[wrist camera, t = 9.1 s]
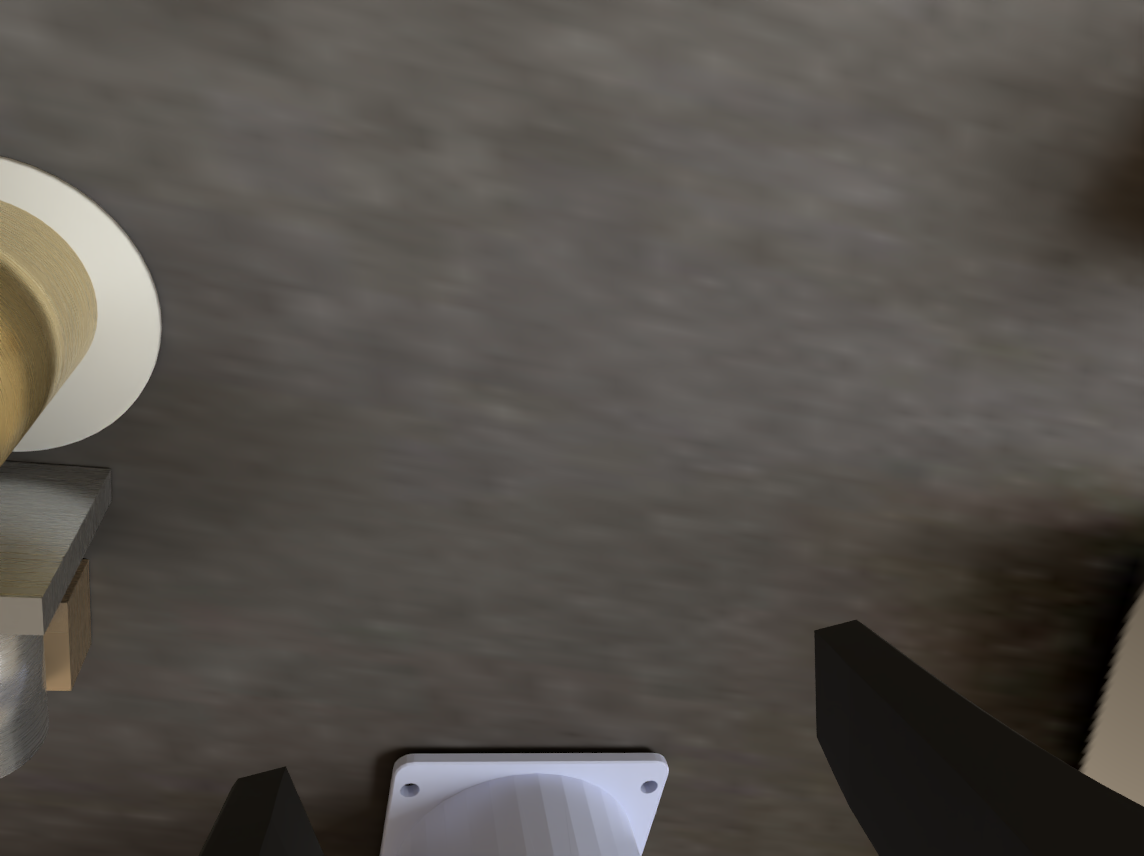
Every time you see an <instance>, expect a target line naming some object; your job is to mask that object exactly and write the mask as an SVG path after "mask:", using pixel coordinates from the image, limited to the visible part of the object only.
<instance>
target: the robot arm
mask: <svg viewBox="0 0 1144 856" xmlns="http://www.w3.org/2000/svg"><path fill="white" fill-rule="evenodd" d="M814 632H815V678H816V724H817V738H818V740H819V743H820V745H821V747H822V749H823V751H824V754H825V756H826V758H827V760H828V762H829V765H830V767H831V769H832V771H833V773H834V776H835V778H836V780H837V782H838V784H839V786H840V788H841V790H842V792H843V794H844V796H845V798H846V800H847V803H848V805H849V807H850V808H851V810H852V812H853V813H854V815H855V817H856V818H857V820H858V822H859V823H860V825H861V827H862V828H863V830H864V832H865V833H866V835H867V836H868V838H869V840H870V841H871V843H872V845H873V846H874V848H875V850H876V851H877V853H878V854H879V856H1144V807H1143V806H1141V805H1139V804H1137V803H1136V802H1134V801H1132V800H1130V799H1128V798H1126V797H1124V796H1122V795H1121V794H1119V793H1117V792H1115V791H1113V790H1111V789H1109V788H1107V787H1106V786H1104V785H1102V784H1100V783H1098V782H1097V781H1095V780H1093V779H1091V778H1090V777H1088V776H1086V775H1085V774H1083V773H1081V772H1080V771H1078V770H1076V769H1074V768H1073V767H1071V766H1069V765H1068V764H1066V763H1065V762H1063V761H1061V760H1060V759H1058V758H1056V757H1055V756H1053V755H1051V754H1050V753H1048V752H1047V751H1045V750H1043V749H1042V748H1040V747H1038V746H1037V745H1035V744H1034V743H1032V742H1030V741H1029V740H1027V739H1026V738H1024V737H1023V736H1021V735H1020V734H1018V733H1016V732H1015V731H1013V730H1012V729H1010V728H1009V727H1007V726H1006V725H1004V724H1003V723H1001V722H1000V721H998V720H997V719H995V718H994V717H992V716H991V715H989V714H988V713H986V712H985V711H984V710H982V709H981V708H979V707H978V706H976V705H975V704H973V703H972V702H970V701H969V700H967V699H966V698H964V697H963V696H961V695H960V694H959V693H957V692H956V691H954V690H953V689H951V688H950V687H949V686H947V685H946V684H944V683H943V682H942V681H940V680H939V679H937V678H936V677H935V676H933V675H932V674H930V673H929V672H928V671H926V670H925V669H924V668H922V667H921V666H919V665H918V664H917V663H915V662H914V661H913V660H911V659H910V658H908V657H907V656H906V655H904V654H903V653H902V652H900V651H899V650H898V649H896V648H895V647H893V646H892V645H891V644H889V643H888V642H887V641H885V640H884V639H883V638H881V637H880V636H879V635H877V634H876V633H875V632H873V631H872V630H870V629H869V628H868V627H866V626H865V625H863V624H862V623H860V622H859V621H857V620H853V621H850V622H846V623H842V624H838V625H834V626H830V627H826V628H822V629H818V630H815V631H814ZM668 772H669V768H668V765H667V762H666V760H665V758H664V756H662V755H660V754H657V753H447V754H407V755H405V756H403V757H400V758H399V759H398V760H397V761H396V762H395V764H394V767H393V772H392V778H391V785H390V791H389V798H388V804H387V811H386V817H385V824H384V830H383V837H382V843H381V850H380V856H642V853H643V850H644V846H645V843H646V840H647V837H648V834H649V831H650V828H651V825H652V822H653V819H654V816H655V813H656V810H657V807H658V804H659V801H660V798H661V794H662V791H663V788H664V785H665V782H666V779H667V776H668ZM646 781H649V782H646ZM645 782H646V783H645ZM410 783H413V784H414V785H410V786H406V785H405V784H410ZM199 856H324V854H323V852H322V849H321V847H320V845H319V842H318V840H317V838H316V835H315V833H314V831H313V828H312V826H311V824H310V821H309V819H308V817H307V814H306V812H305V810H304V807H303V805H302V803H301V800H300V798H299V796H298V794H297V791H296V789H295V787H294V784H293V782H292V780H291V777H290V775H289V773H288V770H287V768H286V767H282V768H278V769H274V770H270V771H266V772H262V773H259V774H255V775H251V776H247V777H243V778H239V779H238V780H237V781H236V783H235V784H234V785H233V787H232V789H231V791H230V793H229V795H228V797H227V799H226V801H225V803H224V805H223V807H222V809H221V811H220V813H219V815H218V817H217V819H216V821H215V824H214V826H213V828H212V830H211V832H210V834H209V836H208V838H207V840H206V842H205V844H204V846H203V848H202V850H201V852H200V854H199Z"/></svg>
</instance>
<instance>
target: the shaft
mask: <svg viewBox="0 0 1144 856" xmlns="http://www.w3.org/2000/svg"><path fill="white" fill-rule="evenodd" d="M111 501H112V491H111V469H106V468H92V467H78V466H65V465H51V464H37V463H24V462H10V461H4V463H3V464H2V465H1V467H0V778H2V777H4V776H6V775H8V774H10V773H11V772H13V771H15V770H16V769H18V768H19V767H21V766H22V765H23V764H25V763H26V762H27V761H28V760H29V759H30V758H32V757H33V755H34V754H35V753H36V752H37V751H38V750H39V748H40V747H41V746H42V744H43V742H44V740H45V738H46V736H47V733H48V727H49V720H48V703H47V690H51V691H71V690H72V688H73V685H74V683H75V681H76V678H77V676H78V674H79V671H80V669H81V667H82V664H83V662H84V659H85V657H86V655H87V652H88V650H89V648H90V645H91V619H90V587H89V560H87V559H83V557H84V555H85V553H86V551H87V549H88V547H89V545H90V543H91V541H92V539H93V537H94V535H95V533H96V531H97V529H98V527H99V525H100V523H101V521H102V519H103V517H104V515H105V513H106V511H107V509H108V507H109V505H110V503H111Z"/></svg>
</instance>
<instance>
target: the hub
mask: <svg viewBox="0 0 1144 856" xmlns="http://www.w3.org/2000/svg"><path fill="white" fill-rule="evenodd" d="M97 317H98V312H97V301H96V296H95V291H94V288H93V285H92V282H91V279H90V277H89V275H88V273H87V271H86V269H85V267H84V265H83V263H82V262H81V260H80V259H79V257H78V256H77V254H76V253H75V251H74V250H73V249H72V248H71V247H70V246H69V244H68V243H67V242H66V241H65V240H64V239H63V238H62V237H61V236H60V235H59V234H58V233H57V232H56V231H54V230H53V229H52V228H51V227H49V226H48V225H47V224H45V223H44V222H43V221H41V220H40V219H38V218H37V217H35V216H33V215H32V214H30V213H28V212H27V211H25V210H23V209H20V208H18V207H16V206H14V205H12V204H9V203H6V202H3V201H1V200H0V467H1V465H2V464H3V463H4V461H5V460H6V459H7V458H8V456H9V455H10V454H11V452H12V451H13V450H14V448H15V447H16V446H17V444H18V443H19V442H20V441H21V439H22V438H23V437H24V435H25V434H26V433H27V431H28V430H29V429H30V427H31V426H32V425H33V424H34V422H35V421H36V420H37V418H38V417H39V416H40V414H41V413H42V412H43V410H44V409H45V408H46V407H47V405H48V404H49V403H50V401H51V400H52V399H53V397H54V396H55V395H56V394H57V392H58V391H59V390H60V388H61V387H62V386H63V384H64V383H65V382H66V380H67V379H68V378H69V377H70V375H71V374H72V373H73V371H74V370H75V369H76V367H77V366H78V365H79V363H80V362H81V361H82V359H83V358H84V356H85V355H86V353H87V352H88V350H89V348H90V346H91V344H92V341H93V339H94V335H95V331H96V328H97Z"/></svg>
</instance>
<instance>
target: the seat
mask: <svg viewBox="0 0 1144 856" xmlns="http://www.w3.org/2000/svg"><path fill="white" fill-rule="evenodd" d="M0 200H1V201H3V202H6V203H9V204H12V205H14V206H16V207H18V208H20V209H23V210H25V211H27V212H28V213H30V214H32V215H33V216H35V217H37V218H38V219H40V220H41V221H43V222H44V223H45V224H47V225H48V226H49V227H51V228H52V229H53V230H54V231H56V232H57V233H58V234H59V235H60V236H61V237H62V238H63V239H64V240H65V241H66V242H67V243H68V244H69V246H70V247H71V248H72V249H73V250H74V251H75V253H76V254H77V256H78V257H79V259H80V260H81V262H82V263H83V265H84V267H85V269H86V271H87V273H88V275H89V277H90V279H91V282H92V285H93V288H94V291H95V296H96V301H97V312H98V317H97V328H96V331H95V335H94V339H93V341H92V344H91V346H90V348H89V350H88V352H87V353H86V355H85V356H84V358H83V359H82V361H81V362H80V363H79V365H78V366H77V367H76V369H75V370H74V371H73V373H72V374H71V375H70V377H69V378H68V379H67V380H66V382H65V383H64V384H63V386H62V387H61V388H60V390H59V391H58V392H57V394H56V395H55V396H54V397H53V399H52V400H51V401H50V403H49V404H48V405H47V407H46V408H45V409H44V410H43V412H42V413H41V414H40V416H39V417H38V418H37V420H36V421H35V422H34V424H33V425H32V426H31V427H30V429H29V430H28V431H27V433H26V434H25V435H24V437H23V438H22V439H21V441H20V442H19V443H18V444H17V446H16V447H15V448H14V450H13V451H12V452H25V451H38V450H46V449H51V448H56V447H61V446H65V445H68V444H71V443H74V442H77V441H80V440H83V439H85V438H87V437H89V436H91V435H93V434H95V433H98V432H99V431H101V430H102V429H104V428H105V427H107V426H109V425H110V424H112V423H113V422H114V421H115V420H117V419H118V418H119V417H120V416H121V415H122V414H124V413H125V412H126V411H127V410H128V409H129V407H130V406H131V405H132V404H133V403H134V402H135V400H136V399H137V398H138V397H139V395H140V393H141V392H142V390H143V389H144V387H145V385H146V384H147V382H148V380H149V378H150V376H151V374H152V371H153V369H154V367H155V364H156V362H157V358H158V354H159V350H160V346H161V334H162V319H161V308H160V303H159V298H158V294H157V290H156V287H155V284H154V281H153V279H152V276H151V273H150V271H149V269H148V267H147V265H146V263H145V261H144V259H143V257H142V255H141V253H140V252H139V251H138V249H137V248H136V246H135V245H134V243H133V242H132V240H131V239H130V237H129V236H128V235H127V234H126V232H125V231H124V230H123V229H122V228H121V227H120V225H119V224H118V223H117V222H116V221H115V220H114V219H113V218H112V217H111V216H110V215H109V214H108V213H107V212H106V211H105V210H104V209H103V208H101V207H100V206H99V205H98V204H97V203H96V202H95V201H93V200H92V199H91V198H89V197H88V196H87V195H85V194H84V193H82V192H81V191H80V190H78V189H77V188H75V187H74V186H72V185H70V184H69V183H67V182H65V181H63V180H62V179H60V178H58V177H57V176H55V175H52V174H50V173H48V172H46V171H43V170H41V169H39V168H37V167H35V166H32V165H29V164H26V163H23V162H20V161H17V160H14V159H11V158H7V157H2V156H0Z"/></svg>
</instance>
